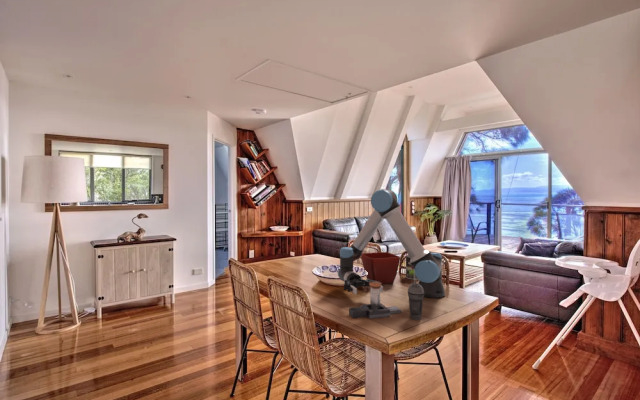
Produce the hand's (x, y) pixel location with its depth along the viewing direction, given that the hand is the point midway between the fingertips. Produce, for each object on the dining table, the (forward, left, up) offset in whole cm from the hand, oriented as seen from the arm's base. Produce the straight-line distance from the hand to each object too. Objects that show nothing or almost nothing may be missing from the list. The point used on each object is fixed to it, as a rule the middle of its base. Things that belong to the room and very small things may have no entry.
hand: (369, 290), depth 162 cm
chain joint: (-4, +5, -9) cm, 11 cm away
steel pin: (-4, +5, -9) cm, 11 cm away
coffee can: (-10, -69, -9) cm, 71 cm away
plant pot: (+8, -51, -9) cm, 53 cm away
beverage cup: (-22, +3, -9) cm, 24 cm away
